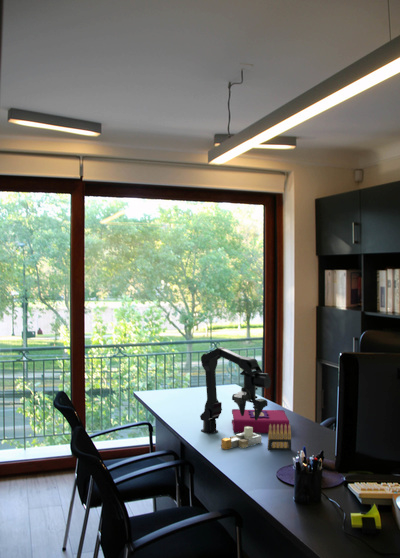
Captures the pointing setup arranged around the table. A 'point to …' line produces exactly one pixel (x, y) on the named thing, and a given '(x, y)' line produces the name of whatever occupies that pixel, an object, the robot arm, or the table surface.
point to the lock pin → (229, 443)
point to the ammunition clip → (279, 438)
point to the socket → (250, 438)
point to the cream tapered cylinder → (248, 432)
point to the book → (259, 420)
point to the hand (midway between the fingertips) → (249, 418)
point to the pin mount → (241, 442)
